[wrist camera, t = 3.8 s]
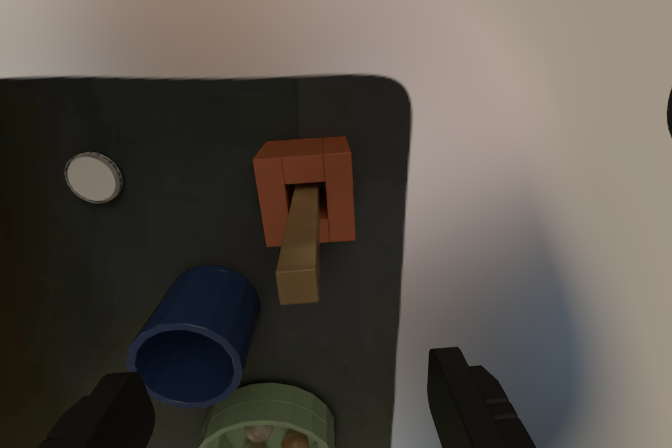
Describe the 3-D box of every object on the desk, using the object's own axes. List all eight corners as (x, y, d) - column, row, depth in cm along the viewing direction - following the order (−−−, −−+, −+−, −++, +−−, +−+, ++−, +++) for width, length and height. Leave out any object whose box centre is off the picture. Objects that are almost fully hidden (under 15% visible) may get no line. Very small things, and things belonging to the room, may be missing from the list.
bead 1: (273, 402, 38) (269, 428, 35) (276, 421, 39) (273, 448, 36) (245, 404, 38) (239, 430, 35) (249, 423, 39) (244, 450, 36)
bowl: (329, 373, 37) (330, 415, 33) (338, 460, 43) (340, 506, 39) (195, 383, 37) (177, 427, 33) (221, 469, 43) (209, 517, 38)
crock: (251, 261, 32) (230, 319, 24) (265, 334, 35) (250, 403, 28) (160, 268, 32) (111, 328, 24) (182, 340, 35) (145, 412, 28)
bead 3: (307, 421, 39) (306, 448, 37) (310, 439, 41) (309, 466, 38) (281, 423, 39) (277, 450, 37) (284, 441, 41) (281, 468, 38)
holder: (345, 135, 28) (351, 151, 22) (349, 209, 30) (355, 240, 25) (266, 141, 28) (252, 159, 22) (276, 215, 30) (266, 247, 25)
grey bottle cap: (59, 159, 27) (53, 161, 27) (107, 146, 27) (102, 147, 27) (86, 206, 29) (81, 209, 28) (132, 194, 29) (128, 196, 28)
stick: (318, 166, 29) (315, 269, 14) (320, 185, 29) (319, 302, 15) (298, 168, 29) (274, 272, 14) (300, 187, 29) (280, 305, 15)
